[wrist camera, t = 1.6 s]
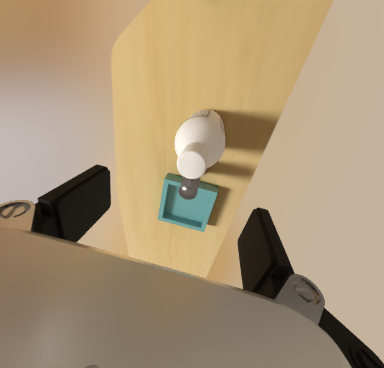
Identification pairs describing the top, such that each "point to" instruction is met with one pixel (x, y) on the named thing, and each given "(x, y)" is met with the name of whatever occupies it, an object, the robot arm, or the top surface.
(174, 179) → the holder tray
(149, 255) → the top surface
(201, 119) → the bath foam
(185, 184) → the post
